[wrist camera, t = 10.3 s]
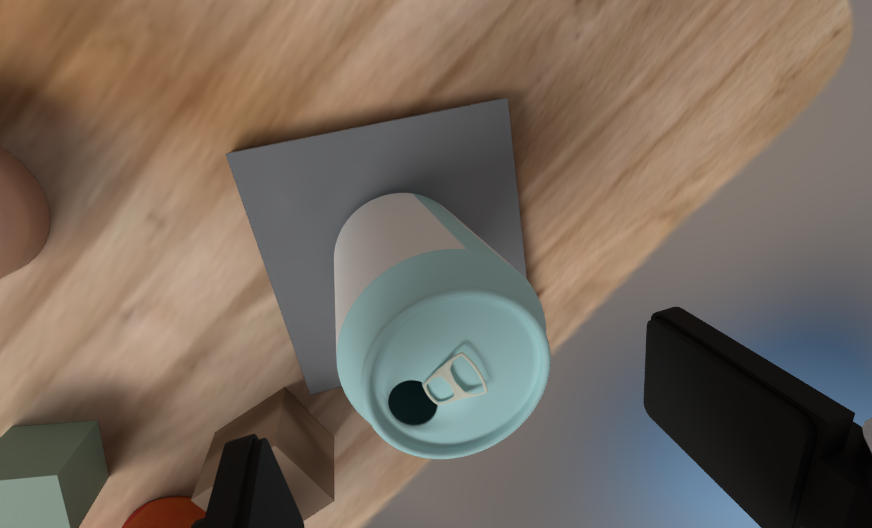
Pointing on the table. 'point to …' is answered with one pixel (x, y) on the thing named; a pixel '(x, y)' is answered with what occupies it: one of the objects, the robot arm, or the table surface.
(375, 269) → the can
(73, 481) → the green block
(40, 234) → the peach smooth rounded part
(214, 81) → the table surface
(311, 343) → the slate board
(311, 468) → the walnut block
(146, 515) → the coffee cup
